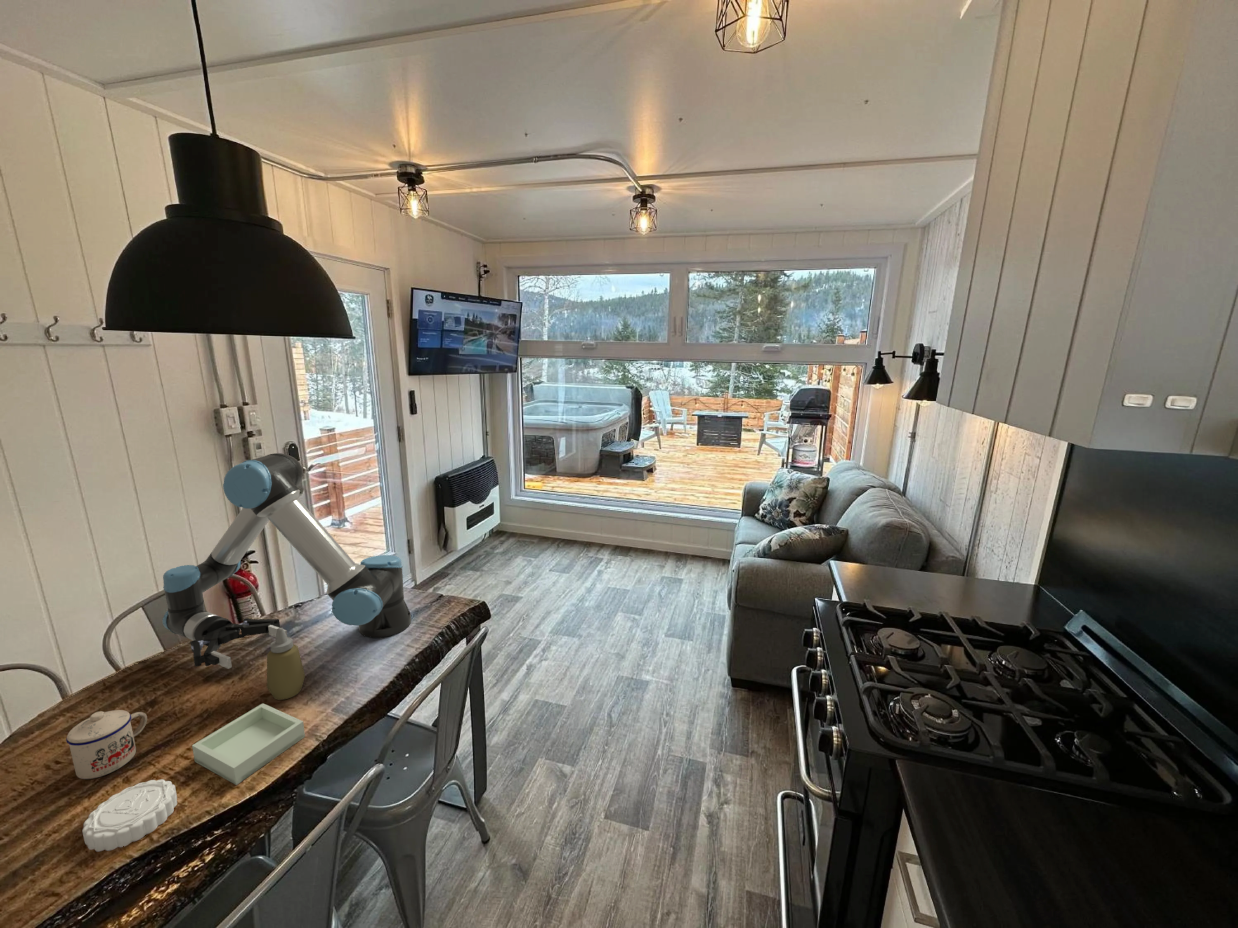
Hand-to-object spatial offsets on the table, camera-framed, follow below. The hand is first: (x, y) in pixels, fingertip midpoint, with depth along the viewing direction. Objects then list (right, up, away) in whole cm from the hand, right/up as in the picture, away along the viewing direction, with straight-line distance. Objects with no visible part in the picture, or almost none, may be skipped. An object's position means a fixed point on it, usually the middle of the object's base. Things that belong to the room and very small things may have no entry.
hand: (259, 648), depth 123 cm
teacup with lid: (-13, -15, -22) cm, 30 cm away
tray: (+13, -15, -19) cm, 27 cm away
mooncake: (+4, -18, -35) cm, 40 cm away
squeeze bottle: (+8, -11, -1) cm, 14 cm away
